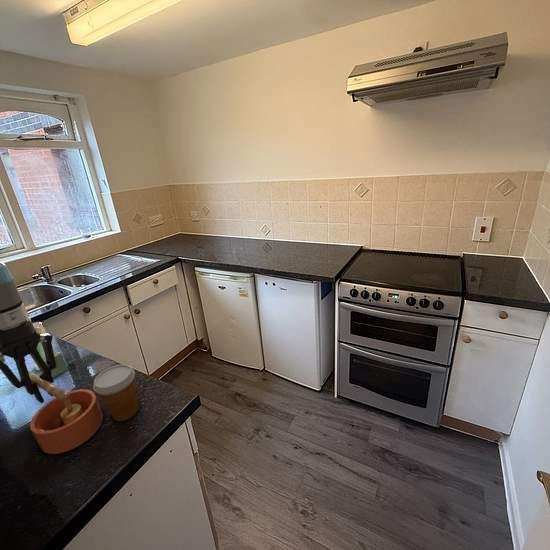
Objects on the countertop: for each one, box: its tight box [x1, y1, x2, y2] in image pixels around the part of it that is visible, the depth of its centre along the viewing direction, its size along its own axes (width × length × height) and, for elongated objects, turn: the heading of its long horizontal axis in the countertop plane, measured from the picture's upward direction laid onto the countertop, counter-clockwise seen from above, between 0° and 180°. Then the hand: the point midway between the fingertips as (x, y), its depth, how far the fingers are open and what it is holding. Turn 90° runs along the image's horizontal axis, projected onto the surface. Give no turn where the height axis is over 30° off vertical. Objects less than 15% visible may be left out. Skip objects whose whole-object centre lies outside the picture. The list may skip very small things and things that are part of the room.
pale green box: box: [40, 350, 69, 379], centre depth 96 cm, size 3×6×6 cm, turn 151°
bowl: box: [29, 388, 104, 455], centre depth 74 cm, size 14×14×6 cm
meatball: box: [49, 419, 63, 430], centre depth 74 cm, size 3×3×3 cm
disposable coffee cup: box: [92, 364, 140, 422], centre depth 77 cm, size 10×10×12 cm
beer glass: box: [28, 321, 47, 371], centre depth 100 cm, size 7×7×15 cm
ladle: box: [28, 370, 83, 425], centre depth 80 cm, size 24×4×8 cm, turn 60°
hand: (46, 397), depth 82 cm, fingers closed on ladle, 2 cm apart
